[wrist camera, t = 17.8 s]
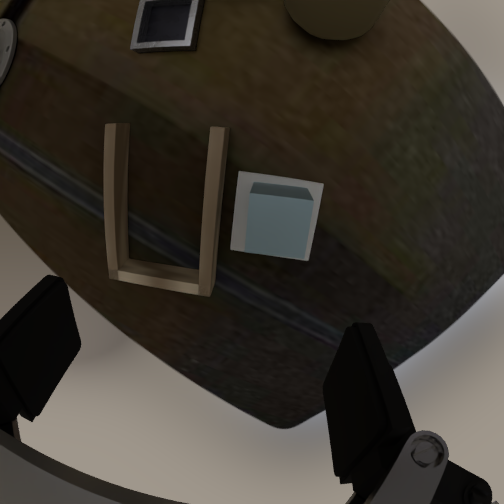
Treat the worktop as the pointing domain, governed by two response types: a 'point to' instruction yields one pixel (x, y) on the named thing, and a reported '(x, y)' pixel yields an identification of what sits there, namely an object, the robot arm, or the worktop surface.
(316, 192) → the mat
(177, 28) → the tray
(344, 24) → the squeeze bottle
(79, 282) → the worktop surface
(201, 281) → the cubby
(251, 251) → the blue block
